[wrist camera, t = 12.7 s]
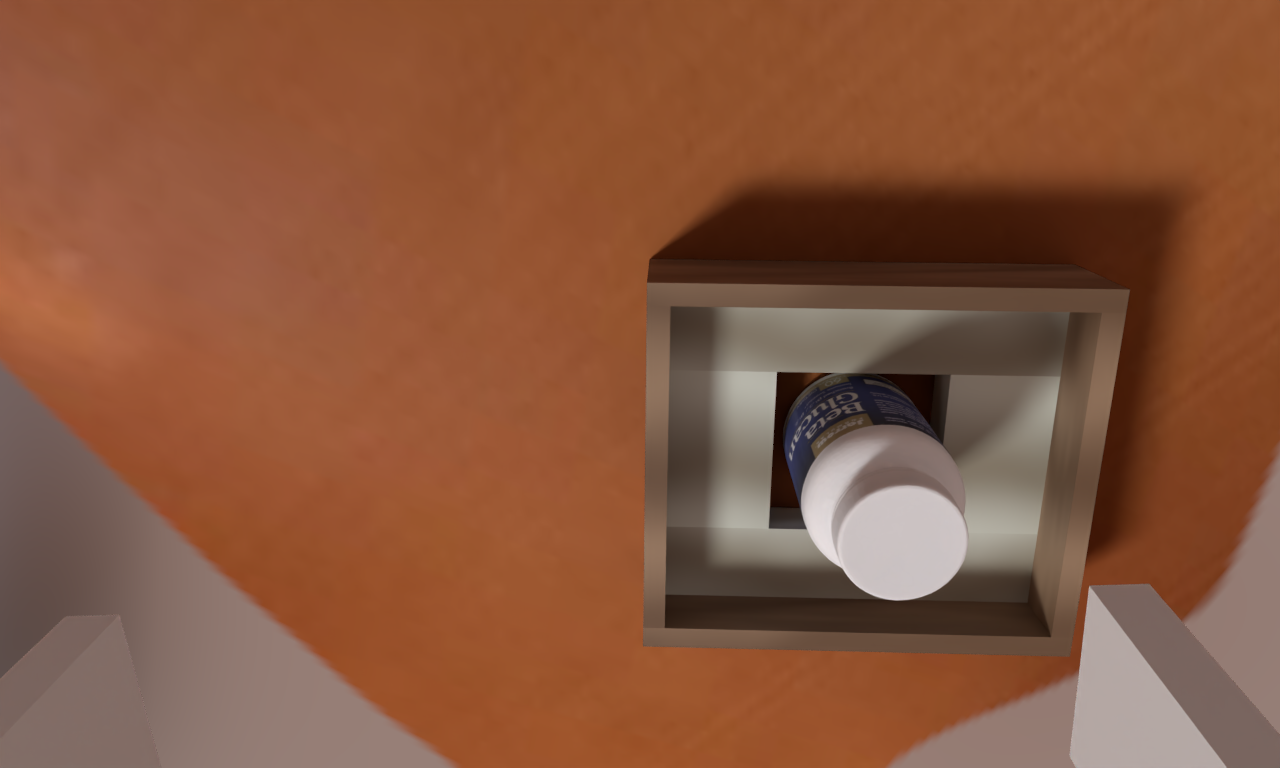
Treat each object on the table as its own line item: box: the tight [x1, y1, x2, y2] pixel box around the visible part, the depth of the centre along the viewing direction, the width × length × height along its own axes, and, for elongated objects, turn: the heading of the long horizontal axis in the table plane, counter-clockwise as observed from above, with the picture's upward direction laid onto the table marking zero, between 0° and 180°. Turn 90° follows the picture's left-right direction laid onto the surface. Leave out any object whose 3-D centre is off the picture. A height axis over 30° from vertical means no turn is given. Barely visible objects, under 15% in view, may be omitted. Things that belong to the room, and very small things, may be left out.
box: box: [643, 259, 1130, 657], centre depth 36 cm, size 14×16×4 cm
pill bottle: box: [783, 373, 969, 600], centre depth 34 cm, size 5×5×10 cm
